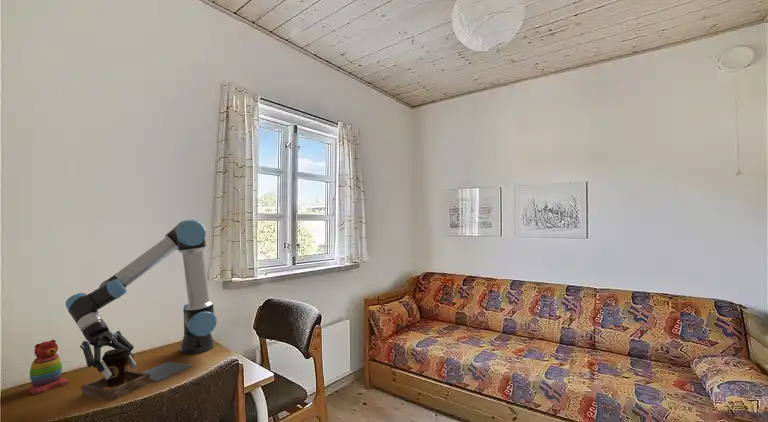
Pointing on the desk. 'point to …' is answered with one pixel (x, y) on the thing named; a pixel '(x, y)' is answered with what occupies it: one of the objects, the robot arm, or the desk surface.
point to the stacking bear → (46, 368)
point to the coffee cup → (117, 366)
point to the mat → (165, 370)
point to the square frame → (98, 391)
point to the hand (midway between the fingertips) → (122, 371)
